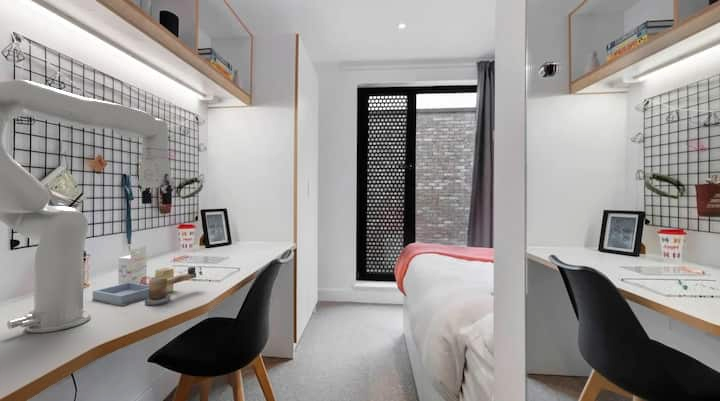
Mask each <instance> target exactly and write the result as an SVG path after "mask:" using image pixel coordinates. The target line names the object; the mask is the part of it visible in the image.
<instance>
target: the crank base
mask: <svg viewBox="0 0 720 401" xmlns="http://www.w3.org/2000/svg"><path fill="white" fill-rule="evenodd" d="M170 302H171V295H170V294H168V293H167V296H166V297H164V298H160V299H149V297H147V298H145V299H144V305H145V306H149V307H155V306H162V305H165V304H167V303H170Z"/></svg>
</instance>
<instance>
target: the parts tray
mask: <svg viewBox="0 0 720 401" xmlns="http://www.w3.org/2000/svg"><path fill="white" fill-rule="evenodd" d="M147 297H149V284H137V283H130V282H128V283H124V284H120V285H119V284H116V285H113V286H108V287H103V288H99V289H96V290H93V291H92V301H95V302H99V303H100V302H101V303H105V304H109V305H114V306H120V307H122V306H124V305H128V304H131V303H134V302H135V303H136V302H137V301H141V300H145V298H147Z"/></svg>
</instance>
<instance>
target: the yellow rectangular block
mask: <svg viewBox="0 0 720 401" xmlns="http://www.w3.org/2000/svg"><path fill="white" fill-rule="evenodd" d="M154 275H155V276H154V278H159V277H165V278H167V279H168V278H171V277H174V268H169V267H168V268H167V267H163V268H160V269H155V273H154ZM172 291H174V284H171V285H167V293H170V292H172Z"/></svg>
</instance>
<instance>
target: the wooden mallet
mask: <svg viewBox="0 0 720 401" xmlns="http://www.w3.org/2000/svg"><path fill="white" fill-rule="evenodd" d="M195 278H197V272H196V267H195V266H190V267H188V268H187V273H183V274H180V275H176V276H173V277H171V278H168V279H167V278H165V277H159V278H155V277H154V278H150V279H149V280H148V285H149V299H160V298H164V297H166V296H167V294H168V292H167V285H171V284H173V285H174V284H177V283H182V282H184V281H189V280H192V279H195Z"/></svg>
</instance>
